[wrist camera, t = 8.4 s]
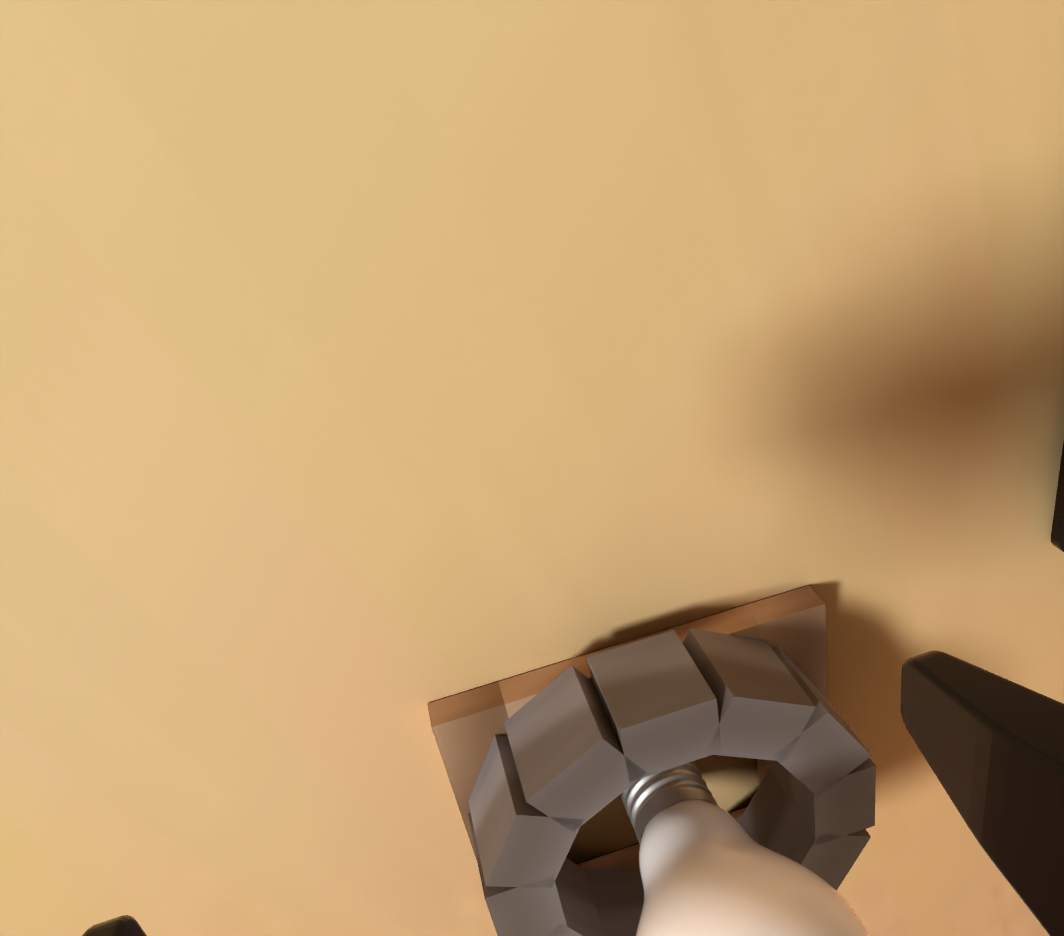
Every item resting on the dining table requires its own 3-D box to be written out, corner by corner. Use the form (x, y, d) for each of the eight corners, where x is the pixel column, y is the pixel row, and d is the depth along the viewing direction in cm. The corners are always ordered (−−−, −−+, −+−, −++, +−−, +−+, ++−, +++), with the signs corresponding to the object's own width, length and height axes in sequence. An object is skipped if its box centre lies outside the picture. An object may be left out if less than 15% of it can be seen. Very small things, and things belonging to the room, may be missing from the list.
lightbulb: (671, 652, 26) (879, 1000, 17) (766, 745, 30) (986, 1084, 20) (517, 772, 27) (634, 1170, 18) (626, 851, 30) (774, 1224, 21)
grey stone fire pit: (808, 564, 26) (883, 644, 23) (817, 819, 32) (878, 914, 29) (420, 683, 25) (438, 788, 21) (502, 927, 31) (527, 1041, 27)
